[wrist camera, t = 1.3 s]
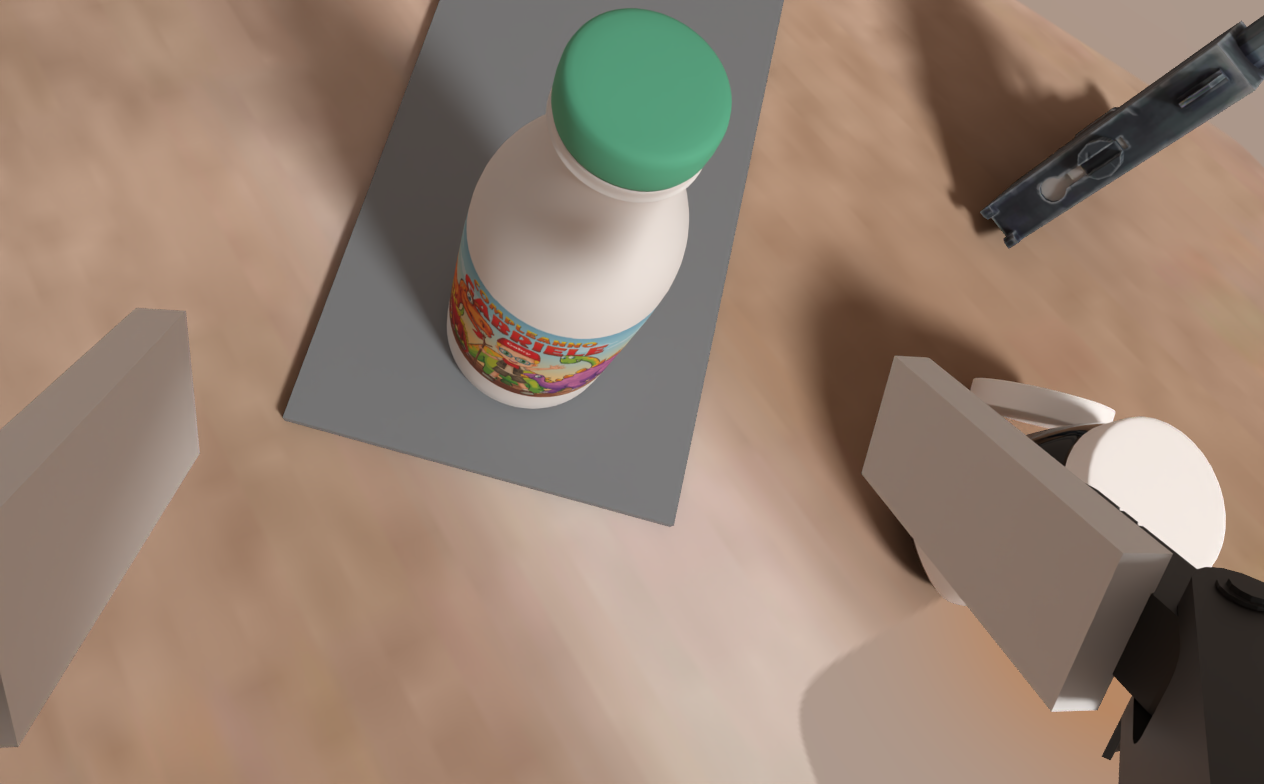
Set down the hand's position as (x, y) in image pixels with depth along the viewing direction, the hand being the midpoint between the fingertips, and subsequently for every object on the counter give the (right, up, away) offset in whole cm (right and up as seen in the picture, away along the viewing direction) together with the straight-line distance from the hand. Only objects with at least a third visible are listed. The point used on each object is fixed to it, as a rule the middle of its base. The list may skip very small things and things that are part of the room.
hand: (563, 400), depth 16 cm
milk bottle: (-4, +3, +24) cm, 24 cm away
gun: (+28, +13, +36) cm, 47 cm away
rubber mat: (-2, +12, +27) cm, 30 cm away
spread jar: (+20, -5, +29) cm, 35 cm away
